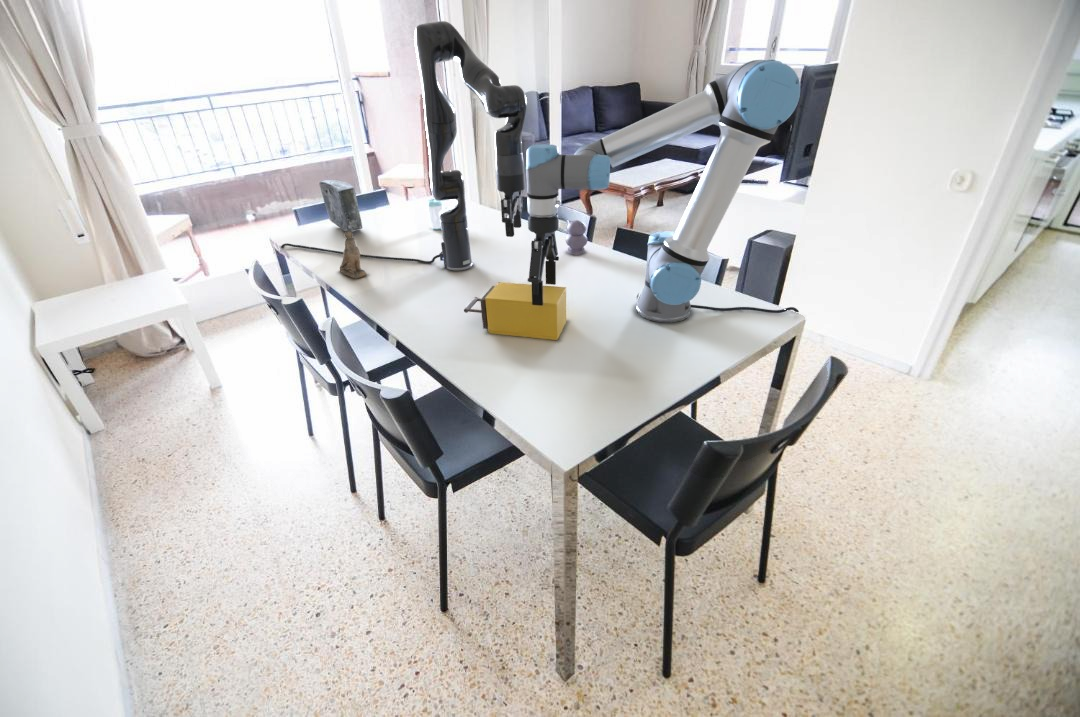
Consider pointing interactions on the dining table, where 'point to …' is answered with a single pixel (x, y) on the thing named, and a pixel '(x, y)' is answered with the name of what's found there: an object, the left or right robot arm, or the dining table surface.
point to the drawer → (483, 308)
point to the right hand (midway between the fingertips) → (544, 293)
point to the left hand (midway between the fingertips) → (514, 231)
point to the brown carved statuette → (351, 258)
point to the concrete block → (341, 204)
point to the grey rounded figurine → (576, 237)
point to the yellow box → (526, 311)
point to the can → (435, 213)
